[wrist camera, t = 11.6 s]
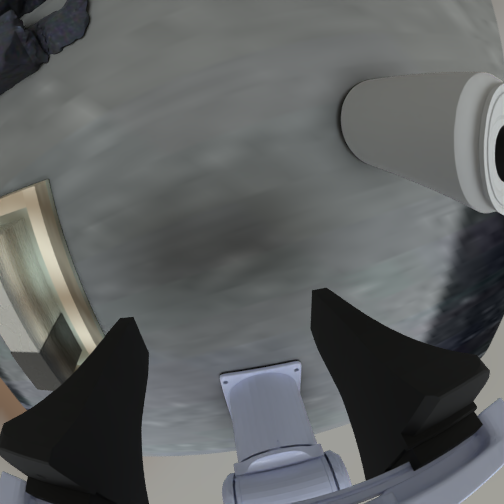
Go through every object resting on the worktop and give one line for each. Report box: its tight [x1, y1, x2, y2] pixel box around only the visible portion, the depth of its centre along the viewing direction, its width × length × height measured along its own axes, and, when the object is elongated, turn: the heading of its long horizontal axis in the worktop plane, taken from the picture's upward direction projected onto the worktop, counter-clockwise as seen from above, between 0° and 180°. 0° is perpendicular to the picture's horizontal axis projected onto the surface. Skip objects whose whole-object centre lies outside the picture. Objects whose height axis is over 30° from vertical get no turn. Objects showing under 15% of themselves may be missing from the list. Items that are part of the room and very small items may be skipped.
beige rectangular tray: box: [0, 179, 105, 372], centre depth 18 cm, size 18×9×2 cm, turn 5°
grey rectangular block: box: [0, 218, 82, 391], centre depth 16 cm, size 13×4×5 cm, turn 5°
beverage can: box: [341, 72, 504, 215], centre depth 12 cm, size 6×6×12 cm
